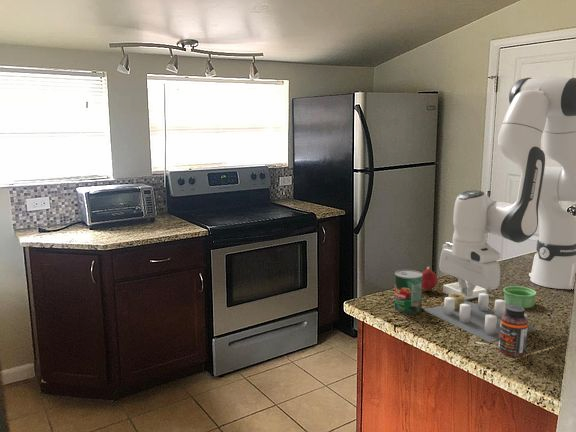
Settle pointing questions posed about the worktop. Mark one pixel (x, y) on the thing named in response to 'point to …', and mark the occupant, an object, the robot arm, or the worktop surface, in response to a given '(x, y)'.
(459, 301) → the tan faceted block
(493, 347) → the worktop surface
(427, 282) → the pomegranate
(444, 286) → the ceramic dish
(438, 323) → the worktop surface
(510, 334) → the supplement bottle
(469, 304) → the mat
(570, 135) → the robot arm
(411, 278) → the canned tomato
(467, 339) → the worktop surface
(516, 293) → the ramekin
